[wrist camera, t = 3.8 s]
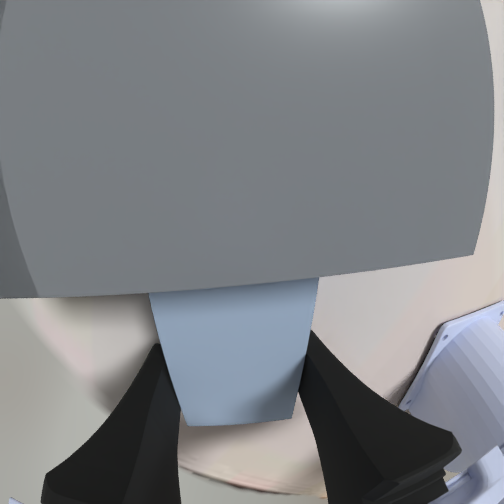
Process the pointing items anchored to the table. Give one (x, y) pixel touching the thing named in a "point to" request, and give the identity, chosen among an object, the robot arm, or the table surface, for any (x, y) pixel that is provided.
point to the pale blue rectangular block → (236, 349)
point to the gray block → (237, 141)
